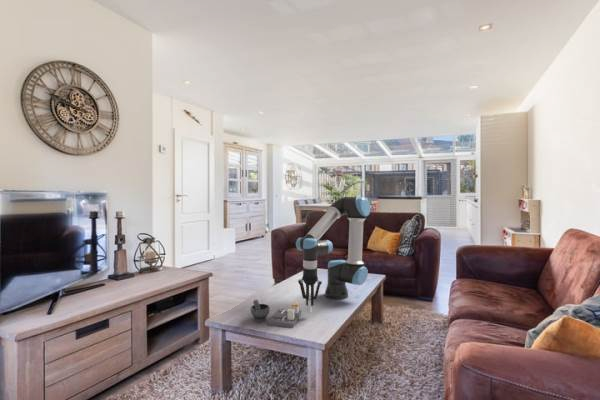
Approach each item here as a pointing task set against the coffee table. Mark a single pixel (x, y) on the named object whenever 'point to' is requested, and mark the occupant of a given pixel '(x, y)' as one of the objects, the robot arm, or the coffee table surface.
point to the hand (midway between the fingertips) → (309, 311)
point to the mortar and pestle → (259, 311)
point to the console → (283, 319)
